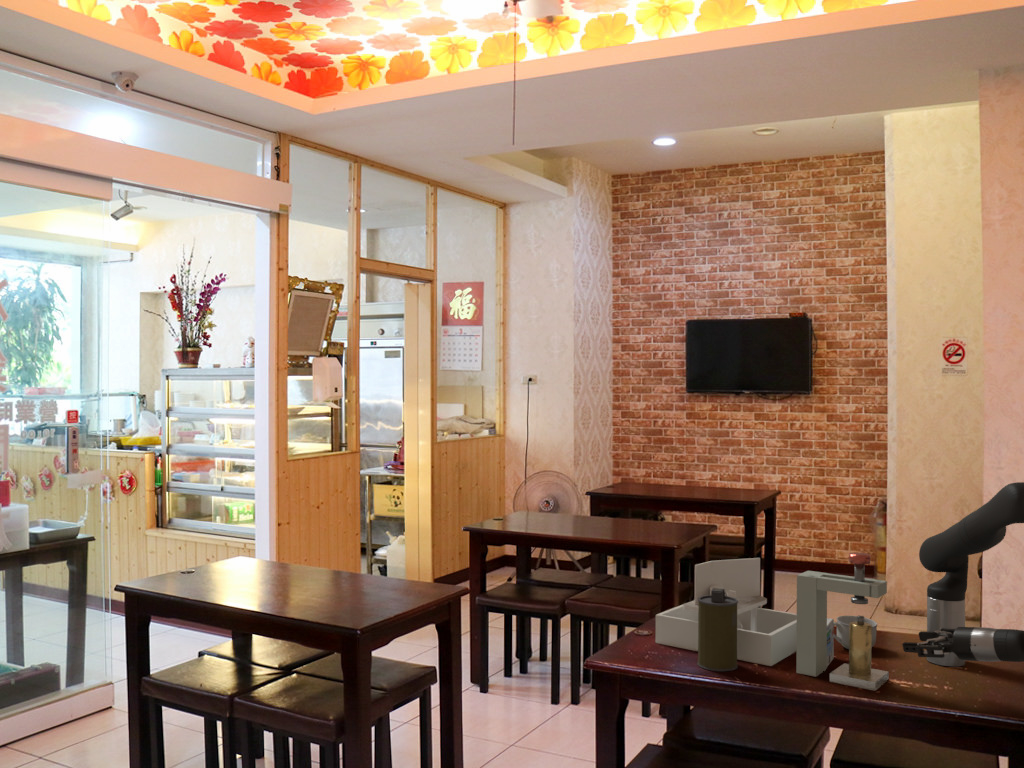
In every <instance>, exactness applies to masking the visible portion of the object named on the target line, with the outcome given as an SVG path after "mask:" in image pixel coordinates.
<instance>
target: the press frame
mask: <svg viewBox="0 0 1024 768" xmlns="http://www.w3.org/2000/svg"><path fill="white" fill-rule="evenodd" d="M887 585H888V581H887V580H882V579H874V578H867V577H865V582H859V581H854V576H852V575H851V576H849V575H844V574H836V573H835V574H834V573H828V572H821V571H813V570H806V571H804V572H801V573H798V574H797V575H796V614H797V651H796V652H795V653H796V669H795V670H796V672H795V673H796V674H800V675H806V676H811V677H815V678H816V677H818V676H819V675H821V674H823V673H824V672H826V669H828V666H827V618H828V592H832V593H839V594H846V595H853V596H854V595H858V596H865V598H873V599H874V598H875V599H879V598H880V597H882V596H884V595H887V593H888V592H887V591H888V589H887V588H888V586H887ZM823 671H824V672H823Z"/></svg>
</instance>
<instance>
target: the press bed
mask: <svg viewBox="0 0 1024 768" xmlns="http://www.w3.org/2000/svg"><path fill="white" fill-rule="evenodd" d="M889 674H890V673H889V671H887V670H883V669H882V670H881V669H878V668H877V669H875V668H873V667H871V675H868V676H860V675H855V674H852V673H850V672H849V663H843V664H841V665H840V666H838V667H837V668H835V669H834V670H832V671H831V672H830V673H829V682H830V683H835V684H840V685H845V686H850V687H854V688H860V689H865V690H869V691H872V692H873V691H875V692H876V691H877V690H878V689H879V688H881V687H882V686H883V685H884V684H885V683H886V682H888V681H889V680H888V679H889V677H890V675H889ZM887 680H888V681H887ZM883 683H884V684H883ZM881 685H882V686H881Z"/></svg>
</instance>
